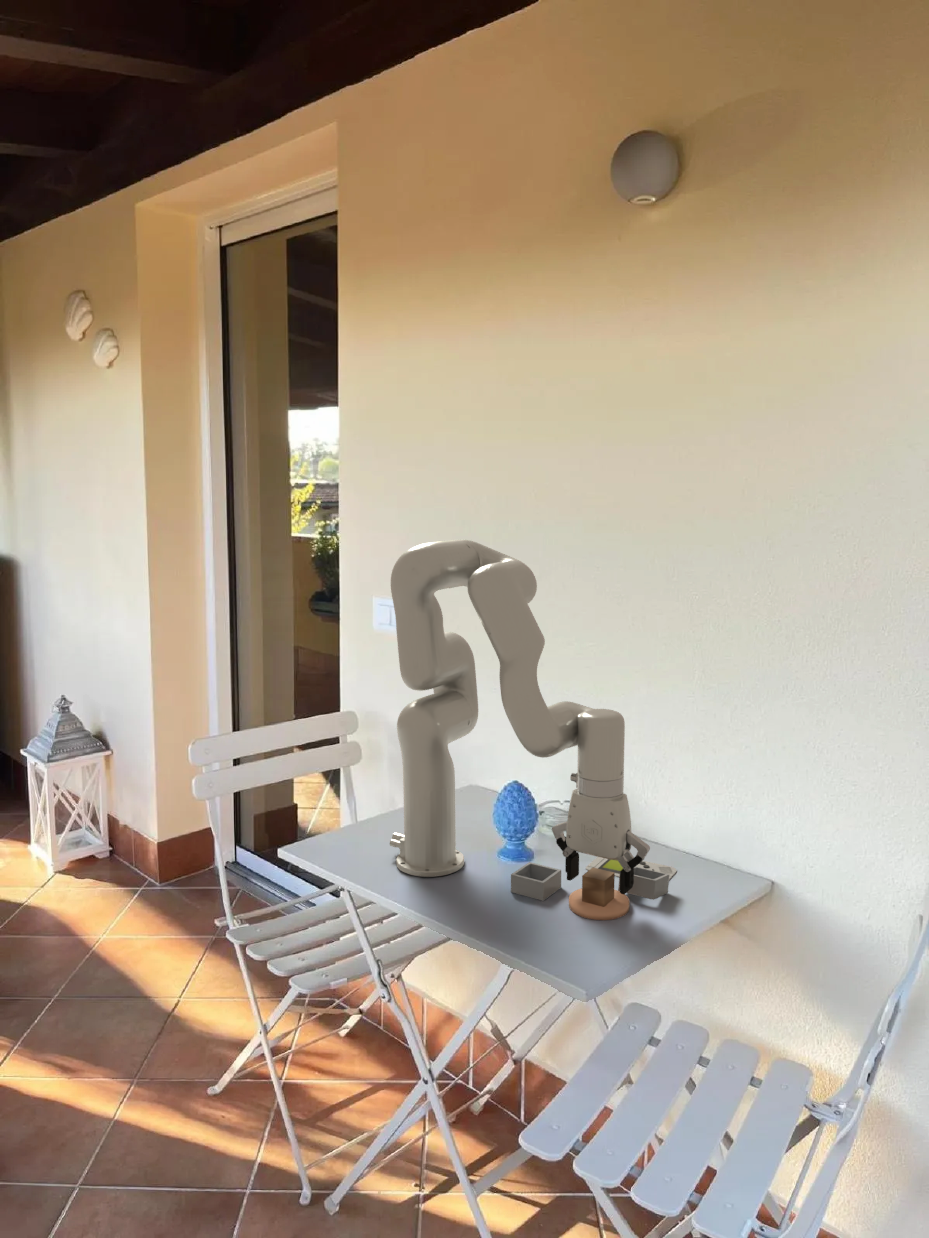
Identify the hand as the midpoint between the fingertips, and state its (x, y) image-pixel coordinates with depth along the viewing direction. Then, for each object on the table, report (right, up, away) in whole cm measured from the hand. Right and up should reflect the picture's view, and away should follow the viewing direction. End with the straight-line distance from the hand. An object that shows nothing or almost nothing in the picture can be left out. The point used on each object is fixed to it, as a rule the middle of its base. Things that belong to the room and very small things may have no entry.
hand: (598, 884), depth 156 cm
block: (0, -3, 0) cm, 3 cm away
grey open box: (-10, -3, +7) cm, 13 cm away
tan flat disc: (0, -4, 0) cm, 4 cm away
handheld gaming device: (+8, -2, +16) cm, 18 cm away
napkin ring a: (+8, -3, +4) cm, 10 cm away
